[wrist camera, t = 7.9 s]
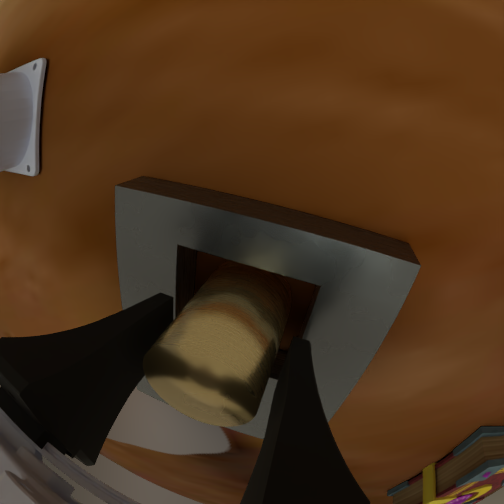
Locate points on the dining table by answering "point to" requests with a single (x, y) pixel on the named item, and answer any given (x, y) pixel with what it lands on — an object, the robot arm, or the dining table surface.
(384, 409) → the dining table surface
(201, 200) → the grey plate with cutouts
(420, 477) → the decorative book
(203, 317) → the brass fitting
